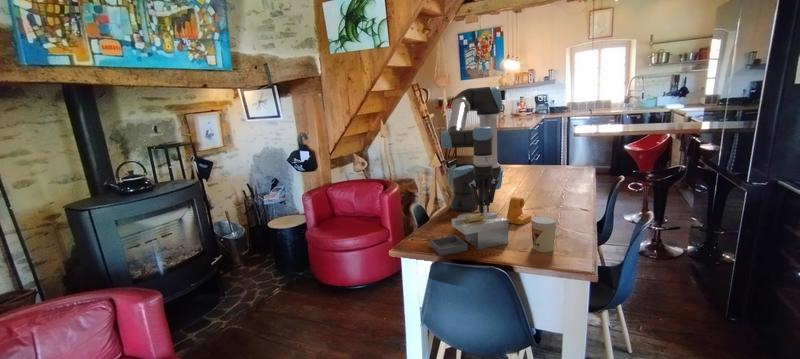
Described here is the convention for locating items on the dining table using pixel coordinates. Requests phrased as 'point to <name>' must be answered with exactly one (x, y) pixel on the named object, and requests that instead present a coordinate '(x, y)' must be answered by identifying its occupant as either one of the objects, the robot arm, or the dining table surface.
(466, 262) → the dining table surface
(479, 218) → the tan cube
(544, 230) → the coffee cup
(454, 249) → the tray
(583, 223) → the dining table surface
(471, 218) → the chip
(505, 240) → the rail block
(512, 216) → the bracket
